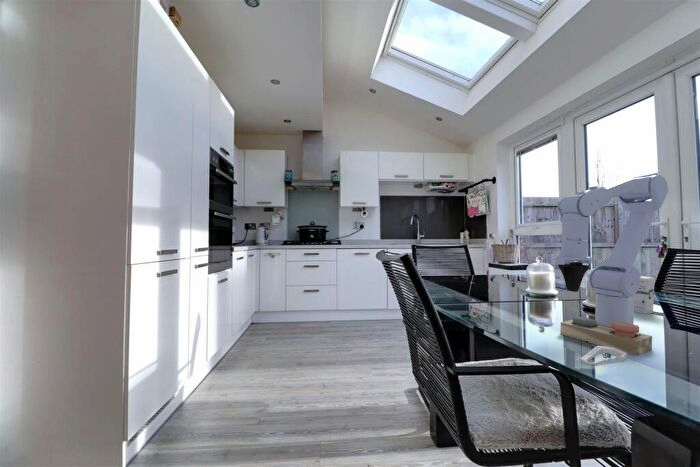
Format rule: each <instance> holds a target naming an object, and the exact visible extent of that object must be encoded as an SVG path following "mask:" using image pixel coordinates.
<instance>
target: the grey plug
mask: <svg viewBox="0 0 700 467" xmlns="http://www.w3.org/2000/svg"><path fill="white" fill-rule="evenodd" d="M572 320H573V323H575V324H576V325H580V326H584V327H588V328H592V327H594V326H597V321H596V320H595V319H594V318H588V317H582V316H573V317H572Z"/></svg>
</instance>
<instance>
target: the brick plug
mask: <svg viewBox="0 0 700 467" xmlns="http://www.w3.org/2000/svg"><path fill="white" fill-rule="evenodd" d="M633 324H634V323H633ZM633 324H629V323H624V322H611V328H613V329H615V334H617V335H621V336H625V337H629V338H635V333H640V327H639V325H638V326H636V325H637V324H635V325H633Z"/></svg>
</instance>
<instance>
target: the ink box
mask: <svg viewBox="0 0 700 467" xmlns="http://www.w3.org/2000/svg"><path fill="white" fill-rule="evenodd" d="M655 282H656V281H655V277H651V276H644V275H641V277H640V281H639V289H638V291H637V292H636V293H635V294H634V295H633V296H631V297H630V298H631V299H632V300H633V303H634V313H638V314H644V315H648V314H653V313H654V302H655V301H654V298H655V297H654V296H655V295H654V294H655Z"/></svg>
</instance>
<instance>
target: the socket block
mask: <svg viewBox="0 0 700 467" xmlns="http://www.w3.org/2000/svg"><path fill="white" fill-rule="evenodd" d="M559 333H560V335H562V336H565V337H569V338H573V339H576V340H580V341H583V342H586V341H588V342H587V343H590V344H594V345H597V346H605V347H614V348H616V349H619V350H621V351H623V352H625V353H627V355H632V356H636V357H637V356H639V355H642V354H644V353H647V352H649V351H652V349H653V335H649V334H645V333H641V332H638V333H635V338H629V337H625V336H621V335H617V334H615V329H613V328H611V326H607V325H602V324H598V323H597V326H594V327H592V328H588V327H584V326H580V325H576V324H575V323H573V319H569V320H566V321H562V322H560V332H559Z"/></svg>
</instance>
